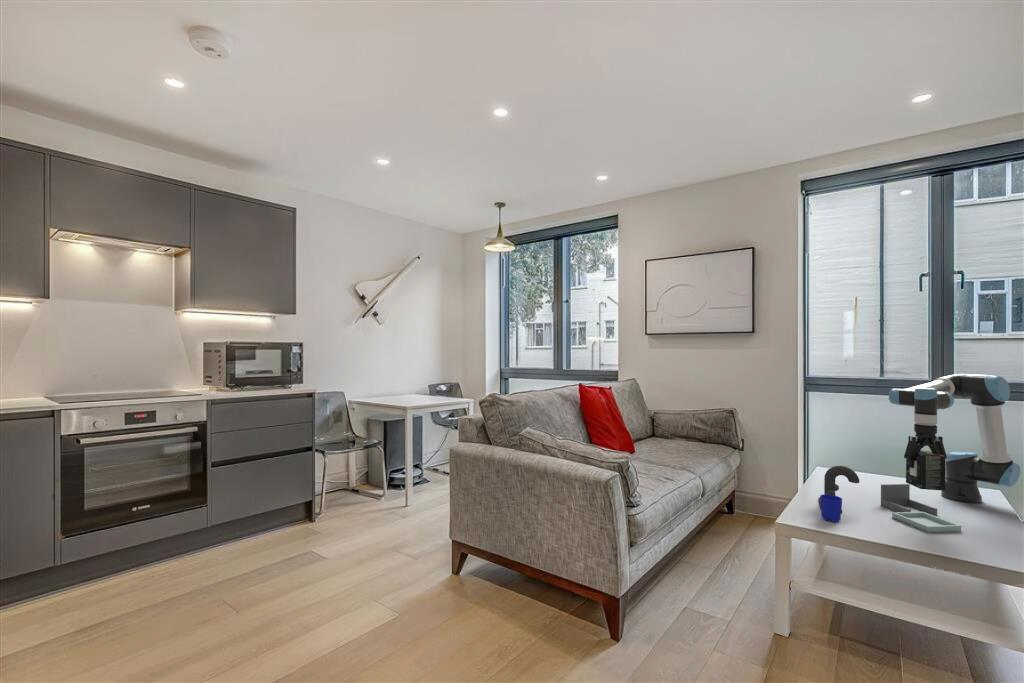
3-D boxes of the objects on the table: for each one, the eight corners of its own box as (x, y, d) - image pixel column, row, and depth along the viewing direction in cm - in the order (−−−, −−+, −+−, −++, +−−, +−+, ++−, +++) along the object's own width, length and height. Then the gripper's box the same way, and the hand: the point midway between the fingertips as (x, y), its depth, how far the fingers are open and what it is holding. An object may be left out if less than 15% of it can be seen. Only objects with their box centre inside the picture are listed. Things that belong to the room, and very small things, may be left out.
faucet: (862, 516, 218) (862, 472, 219) (820, 510, 226) (820, 467, 226) (857, 505, 234) (857, 463, 234) (818, 499, 242) (818, 459, 242)
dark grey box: (946, 491, 203) (946, 456, 203) (921, 489, 205) (921, 454, 205) (929, 483, 214) (929, 450, 214) (905, 482, 215) (905, 449, 216)
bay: (907, 504, 235) (907, 483, 235) (937, 515, 220) (937, 493, 220) (880, 505, 234) (880, 484, 234) (908, 516, 219) (908, 494, 219)
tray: (923, 517, 218) (923, 511, 218) (961, 531, 201) (961, 525, 201) (892, 517, 217) (892, 512, 217) (927, 532, 200) (927, 526, 200)
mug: (836, 515, 220) (836, 493, 220) (844, 524, 209) (844, 501, 209) (815, 512, 223) (815, 491, 223) (822, 522, 212) (822, 499, 212)
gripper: (941, 422, 214) (941, 472, 214) (893, 422, 212) (893, 473, 212) (958, 425, 207) (958, 477, 206) (908, 425, 205) (908, 478, 204)
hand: (925, 475), depth 209 cm, fingers closed on dark grey box, 10 cm apart
